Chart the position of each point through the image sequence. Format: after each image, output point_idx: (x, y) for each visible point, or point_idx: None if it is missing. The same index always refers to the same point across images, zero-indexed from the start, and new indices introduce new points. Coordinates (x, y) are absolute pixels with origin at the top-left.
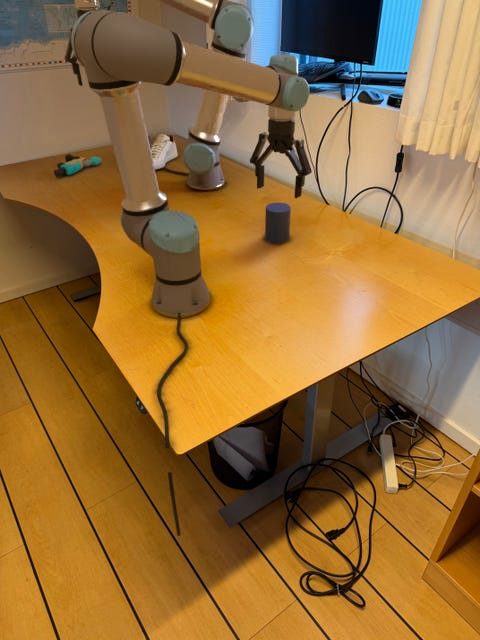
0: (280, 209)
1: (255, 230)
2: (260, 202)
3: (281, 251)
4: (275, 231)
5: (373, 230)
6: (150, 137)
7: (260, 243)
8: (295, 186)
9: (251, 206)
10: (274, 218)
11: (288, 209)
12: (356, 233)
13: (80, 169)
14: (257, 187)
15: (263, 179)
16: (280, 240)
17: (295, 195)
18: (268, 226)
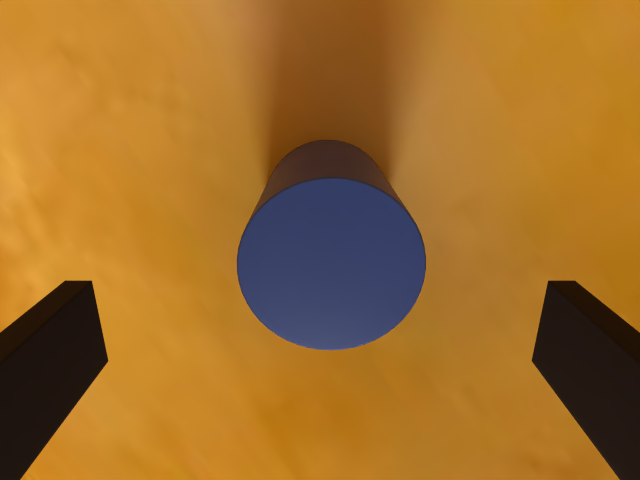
0: (294, 248)
1: (469, 216)
2: (590, 459)
3: (227, 94)
4: (298, 158)
5: (51, 477)
6: None
7: (368, 106)
8: (5, 356)
9: None
10: (303, 170)
11: (246, 279)
12: (82, 426)
13: None
14: (573, 284)
15: (574, 405)
16: (278, 165)
17: (64, 293)
18: (348, 156)
